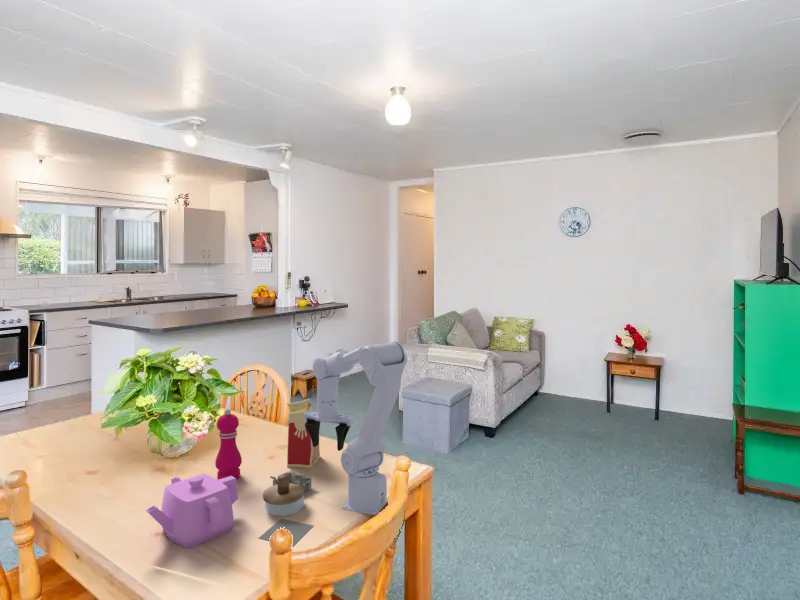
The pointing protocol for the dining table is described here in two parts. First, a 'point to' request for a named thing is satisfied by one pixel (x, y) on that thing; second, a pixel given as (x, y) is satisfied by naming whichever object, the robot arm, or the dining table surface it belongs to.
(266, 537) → the mat
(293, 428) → the milk carton
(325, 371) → the robot arm
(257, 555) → the dining table surface
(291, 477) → the egg carton
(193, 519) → the teakettle
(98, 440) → the dining table surface
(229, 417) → the pepper mill
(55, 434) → the dining table surface
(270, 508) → the bowl
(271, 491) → the lid
